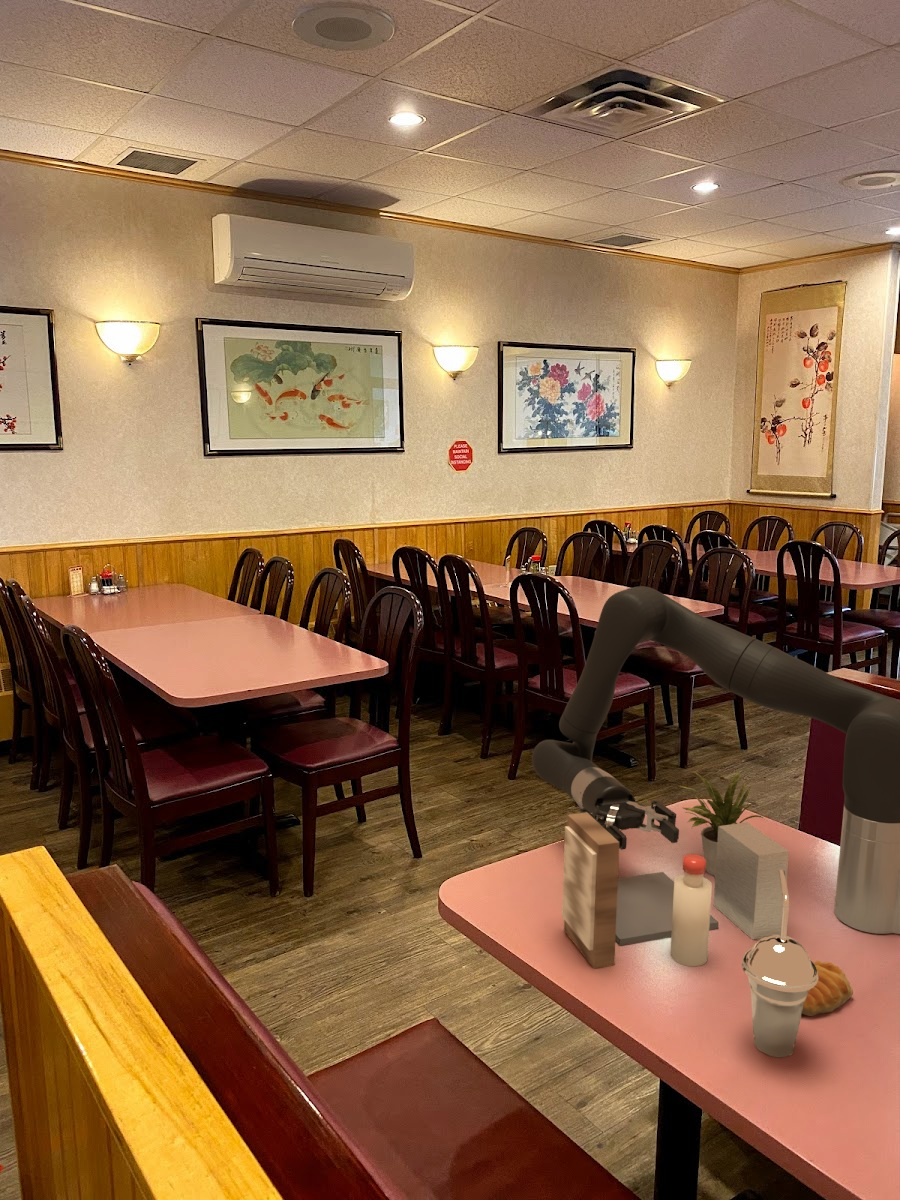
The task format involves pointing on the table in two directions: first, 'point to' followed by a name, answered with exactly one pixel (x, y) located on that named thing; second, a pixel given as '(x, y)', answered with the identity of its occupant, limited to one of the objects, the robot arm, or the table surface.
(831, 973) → the pastry
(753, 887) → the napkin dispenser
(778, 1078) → the table surface
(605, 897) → the stand
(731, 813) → the house plant
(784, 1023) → the cup with straw
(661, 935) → the slate tray
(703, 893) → the sauce bottle
